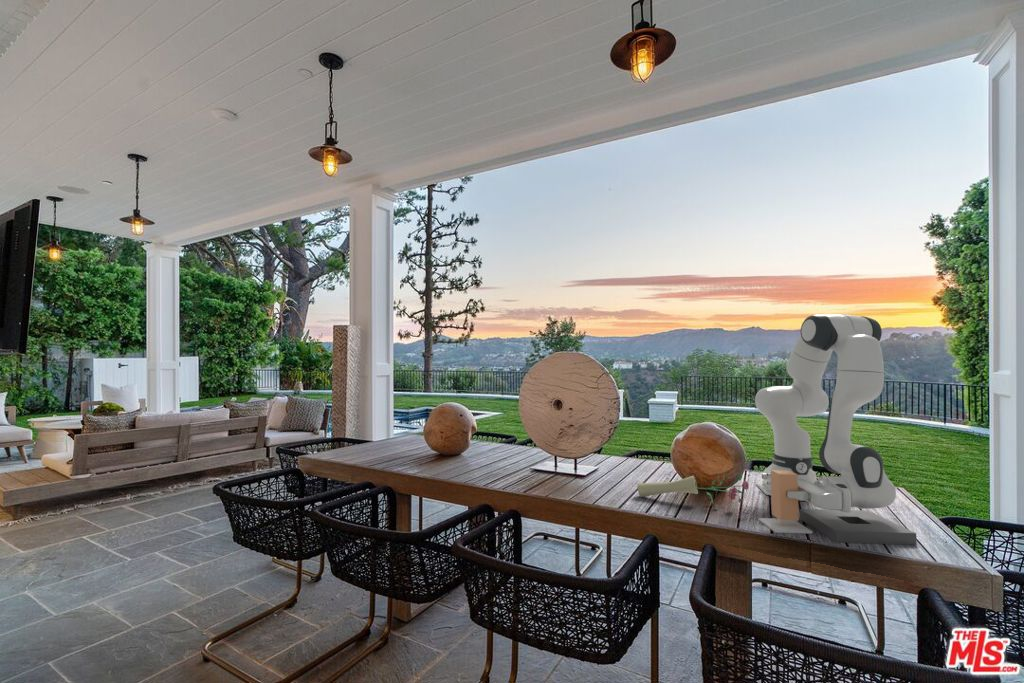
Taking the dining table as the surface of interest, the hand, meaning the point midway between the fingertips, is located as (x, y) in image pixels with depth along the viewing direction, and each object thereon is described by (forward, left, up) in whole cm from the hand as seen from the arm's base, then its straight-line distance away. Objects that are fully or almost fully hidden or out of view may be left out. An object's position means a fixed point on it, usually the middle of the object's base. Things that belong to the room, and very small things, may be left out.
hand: (781, 491), depth 135 cm
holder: (+2, +19, -10) cm, 22 cm away
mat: (0, +1, -10) cm, 10 cm away
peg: (0, +1, -7) cm, 8 cm away
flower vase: (-19, -20, -10) cm, 30 cm away
